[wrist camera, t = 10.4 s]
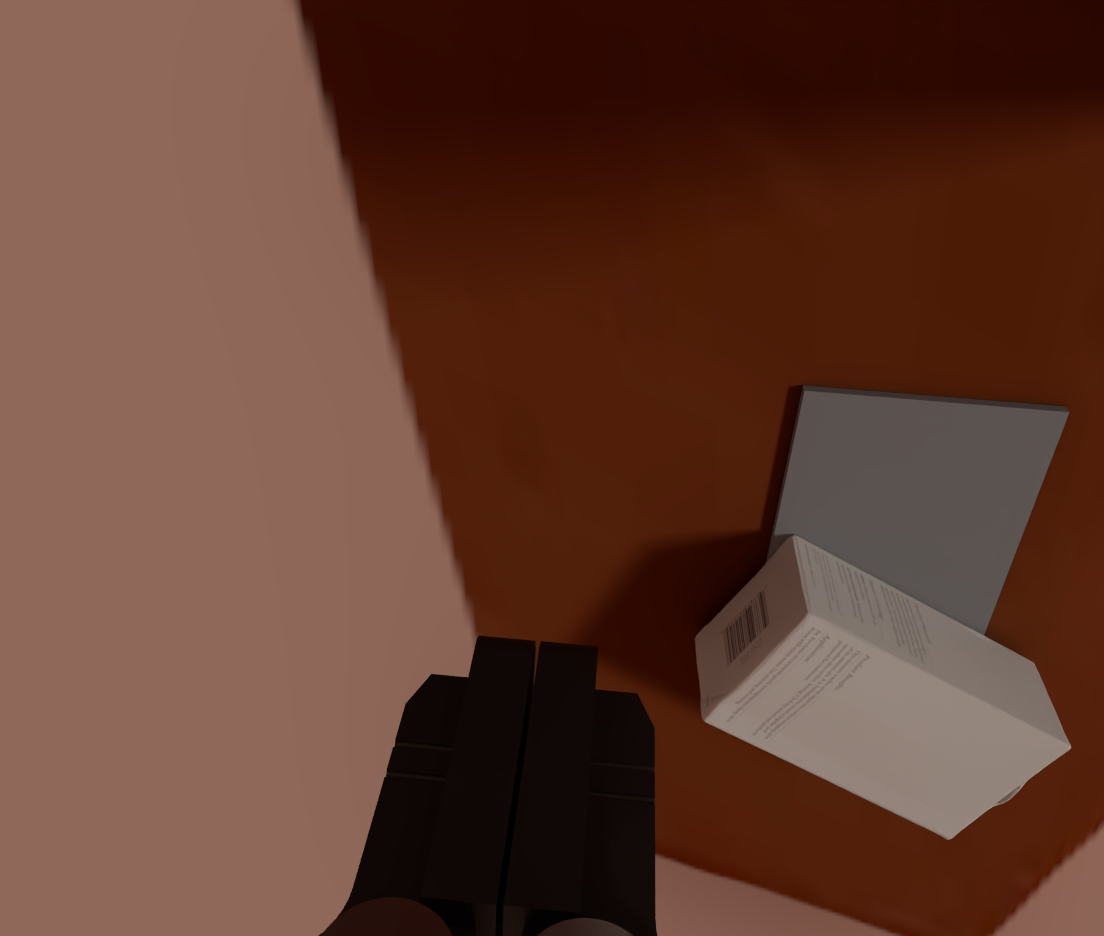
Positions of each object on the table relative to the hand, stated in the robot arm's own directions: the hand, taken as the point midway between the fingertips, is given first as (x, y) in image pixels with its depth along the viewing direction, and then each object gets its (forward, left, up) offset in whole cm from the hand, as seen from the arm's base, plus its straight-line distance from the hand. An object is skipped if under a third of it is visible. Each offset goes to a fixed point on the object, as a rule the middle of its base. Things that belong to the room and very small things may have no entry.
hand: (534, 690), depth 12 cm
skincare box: (-8, +21, -26) cm, 34 cm away
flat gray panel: (-15, +18, -29) cm, 37 cm away
